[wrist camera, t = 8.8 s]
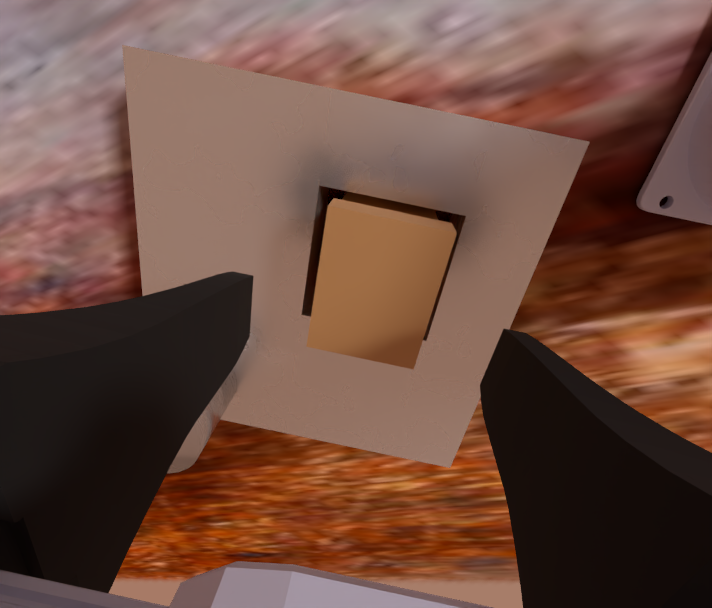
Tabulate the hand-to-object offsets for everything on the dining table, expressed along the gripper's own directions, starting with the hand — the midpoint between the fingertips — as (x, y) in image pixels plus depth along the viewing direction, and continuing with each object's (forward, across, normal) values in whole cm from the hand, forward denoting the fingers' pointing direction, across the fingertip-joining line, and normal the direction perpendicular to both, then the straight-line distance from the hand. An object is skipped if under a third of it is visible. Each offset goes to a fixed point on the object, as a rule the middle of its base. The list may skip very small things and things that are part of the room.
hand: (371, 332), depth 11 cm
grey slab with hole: (+8, +2, +2) cm, 9 cm away
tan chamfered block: (+8, 0, 0) cm, 8 cm away
